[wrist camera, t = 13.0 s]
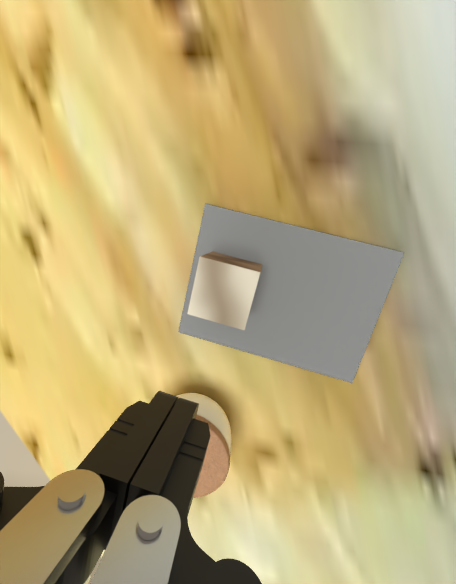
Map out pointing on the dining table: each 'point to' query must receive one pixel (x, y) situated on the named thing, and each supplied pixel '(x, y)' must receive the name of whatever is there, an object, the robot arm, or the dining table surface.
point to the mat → (298, 292)
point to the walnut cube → (224, 289)
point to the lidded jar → (212, 444)
